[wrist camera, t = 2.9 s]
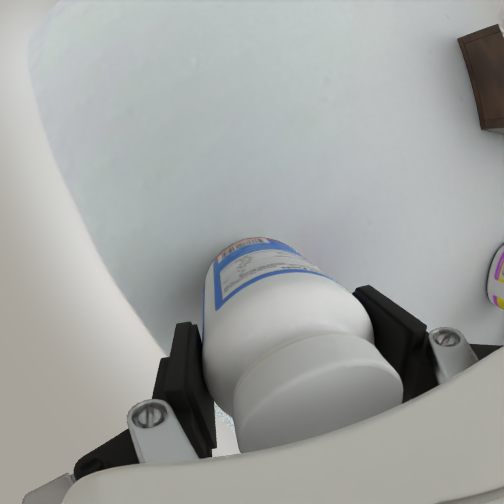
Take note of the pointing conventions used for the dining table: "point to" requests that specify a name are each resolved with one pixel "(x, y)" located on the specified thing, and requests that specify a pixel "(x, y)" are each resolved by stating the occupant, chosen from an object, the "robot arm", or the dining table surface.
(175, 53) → the dining table surface
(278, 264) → the pill bottle
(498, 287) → the supplement bottle
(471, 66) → the caddy
